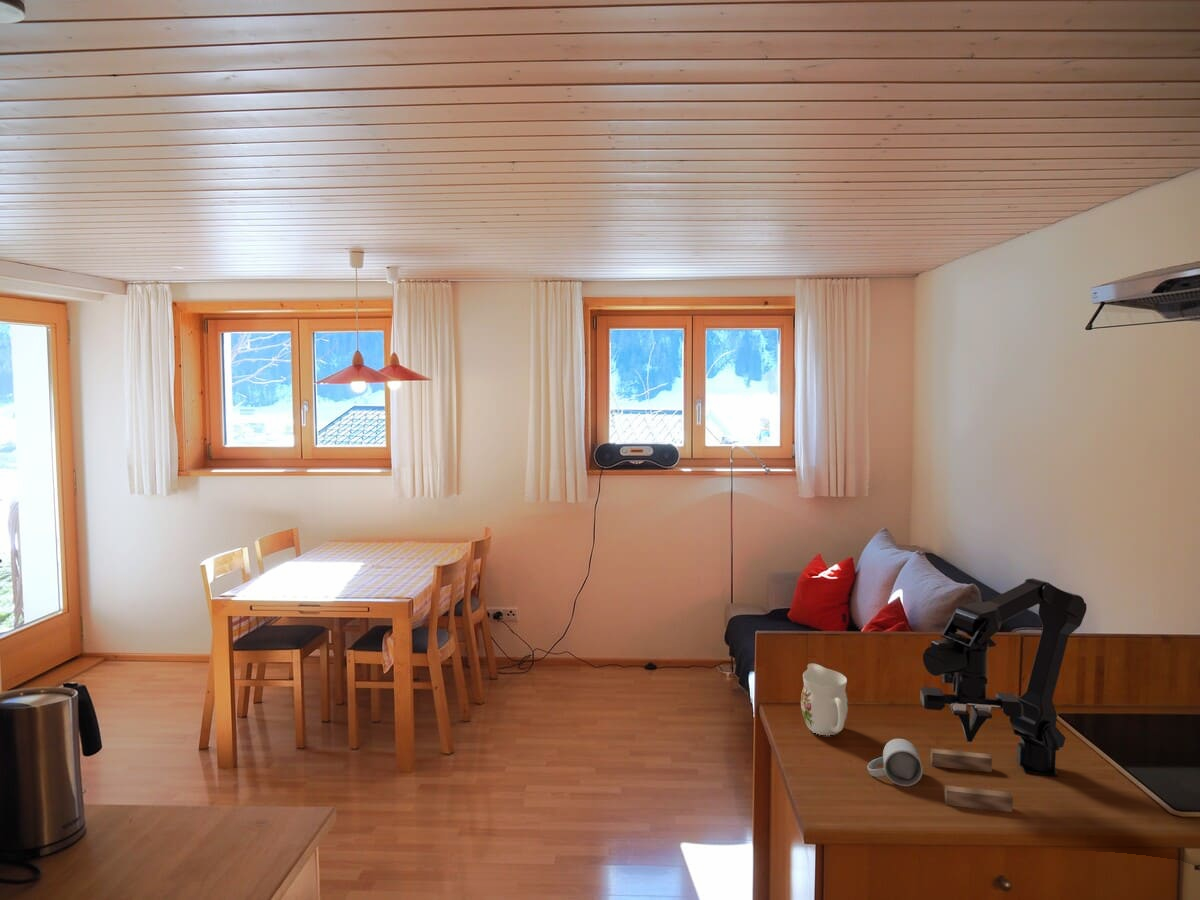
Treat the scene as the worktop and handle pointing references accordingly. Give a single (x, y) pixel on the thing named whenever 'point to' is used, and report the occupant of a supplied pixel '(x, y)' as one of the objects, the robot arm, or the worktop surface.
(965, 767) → the mug dock
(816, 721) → the pitcher
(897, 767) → the ceramic mug
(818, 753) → the worktop surface
